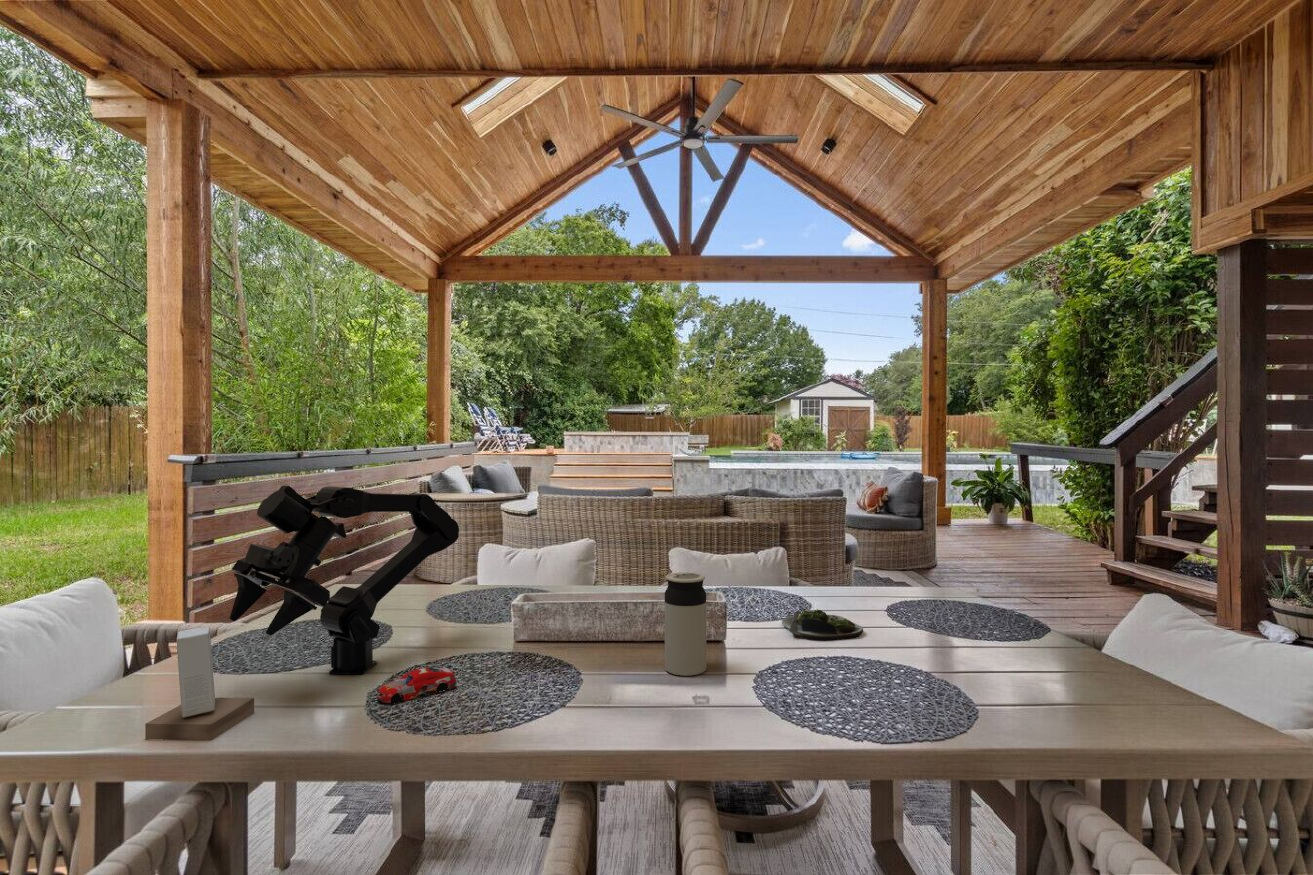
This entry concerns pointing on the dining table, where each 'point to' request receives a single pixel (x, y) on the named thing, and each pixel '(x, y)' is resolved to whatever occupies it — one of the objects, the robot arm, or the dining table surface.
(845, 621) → the salad plate
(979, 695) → the dining table surface
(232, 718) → the walnut block
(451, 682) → the race car
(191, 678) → the skincare box
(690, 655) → the travel mug
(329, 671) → the robot arm
